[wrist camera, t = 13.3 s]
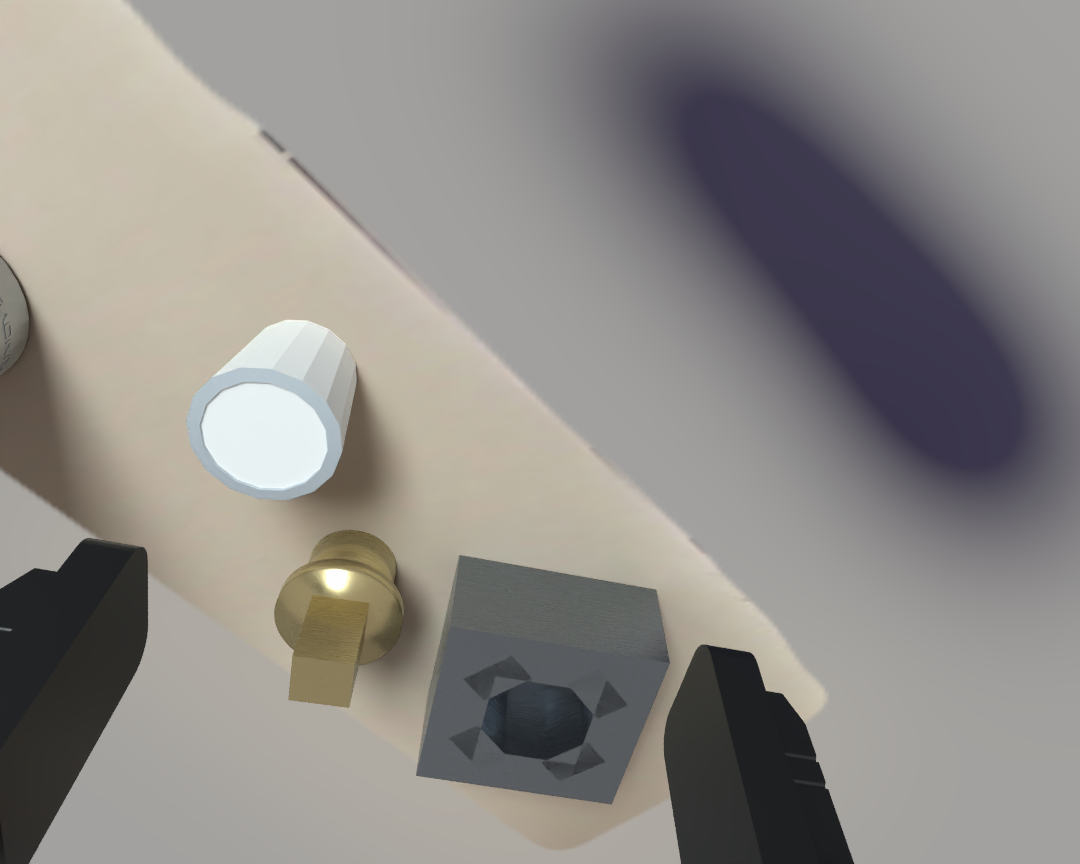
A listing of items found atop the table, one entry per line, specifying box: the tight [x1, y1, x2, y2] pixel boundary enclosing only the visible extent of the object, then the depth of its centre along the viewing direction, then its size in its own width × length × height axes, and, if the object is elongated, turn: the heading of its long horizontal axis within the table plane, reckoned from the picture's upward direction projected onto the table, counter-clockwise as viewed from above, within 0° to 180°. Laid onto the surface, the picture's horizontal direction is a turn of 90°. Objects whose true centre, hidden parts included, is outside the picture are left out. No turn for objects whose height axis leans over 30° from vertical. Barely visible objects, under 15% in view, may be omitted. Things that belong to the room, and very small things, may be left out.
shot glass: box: [186, 320, 357, 500], centre depth 40 cm, size 7×7×7 cm
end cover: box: [274, 530, 404, 708], centre depth 45 cm, size 7×7×9 cm
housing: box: [416, 555, 670, 804], centre depth 50 cm, size 12×12×6 cm
